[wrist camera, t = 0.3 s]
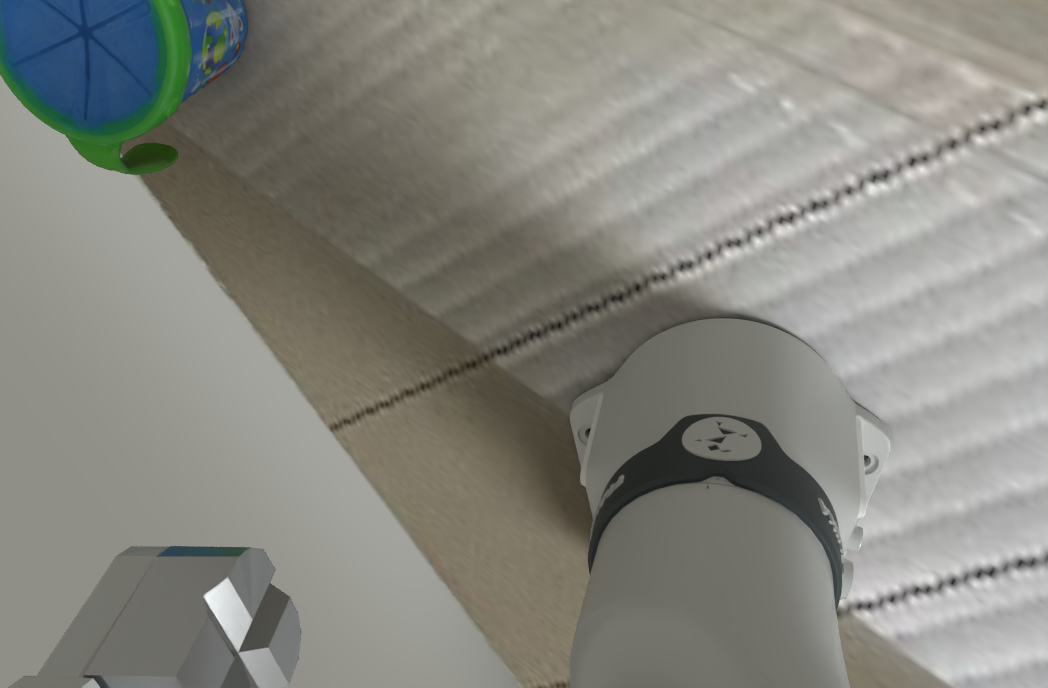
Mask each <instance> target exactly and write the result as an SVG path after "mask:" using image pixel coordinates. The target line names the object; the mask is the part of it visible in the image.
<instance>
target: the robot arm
mask: <svg viewBox="0 0 1048 688" xmlns="http://www.w3.org/2000/svg"><path fill="white" fill-rule="evenodd" d="M570 423H571V428H572V432H573V436H574V440H575V445H576V449H577V453H578V457H579V462H580V466H581V474H580V483H581V484H582V485H583V486H585V487H586V491H587V495H588V500H589V504H590V508H591V512H592V517H593V522H592V526H591V530H590V538H589V541H590V546H589V552H588V564H589V573H590V578H589V581H588V585H587V589H586V593H585V597H584V600H583V604H582V608H581V612H580V616H579V620H578V624H577V628H576V632H575V636H574V639H573V643H572V647H571V651H570V658H569V677H570V686H571V688H850V685H849V681H848V677H847V672H846V667H845V663H844V658H843V653H842V647H841V642H840V636H839V631H838V623H837V616H836V609H837V607H838V604H839V600H840V599H841V600H842V599H846V598H847V596H848V594H849V592H850V589H851V585H852V580H853V563H852V562H850V560H848V559H844V557H845V555H846V553H847V550H849V551H855V552H858V551H859V549H860V547H861V544H862V539H863V529H862V528H861V527H858V525H859V523H860V520H861V518H862V517H863V516H864V515H865V513H866V507H867V504H868V502H869V499H870V497H871V495H872V492H873V490H874V488H875V486H876V483H877V481H878V479H879V476H880V474H881V472H882V469H883V467H884V465H885V462H886V460H887V458H888V455H889V453H890V450H891V434H890V431H889V429H888V428H887V427H886V425H885V424H884V423H882V422H881V421H880V420H879V419H878V418H876V417H875V416H874V415H872V414H871V413H869V412H868V411H866V410H865V409H863V408H862V407H860V406H859V405H857V404H856V403H854V401H853V400H852V399H851V398H850V397H849V395H848V394H847V393H846V391H845V390H844V388H843V386H842V385H841V383H840V381H839V380H838V378H837V377H836V375H835V373H834V372H833V371H832V369H831V368H830V367H829V366H828V364H827V363H826V362H825V361H824V360H823V359H822V358H821V357H820V356H819V355H818V354H817V353H816V352H815V351H814V350H812V349H811V348H810V347H808V346H807V345H806V344H804V343H803V342H801V341H800V340H798V339H797V338H795V337H793V336H791V335H789V334H788V333H785V332H783V331H781V330H779V329H776V328H774V327H771V326H768V325H765V324H761V323H757V322H753V321H747V320H741V319H728V318H717V319H704V320H698V321H693V322H688V323H685V324H681V325H678V326H675V327H673V328H670V329H668V330H666V331H663V332H661V333H659V334H658V335H656V336H654V337H652V338H651V339H649V340H648V341H646V342H645V343H644V344H642V345H641V346H640V347H639V348H638V349H637V350H635V351H634V352H633V353H632V354H631V355H630V356H629V358H628V359H627V360H626V361H625V362H624V364H623V365H622V366H621V367H620V369H619V370H618V371H617V372H616V373H615V374H614V376H613V377H612V378H610V379H609V380H608V381H607V382H605V383H603V384H601V385H598V386H596V387H594V388H592V389H590V390H588V391H587V392H585V393H583V394H582V395H580V396H579V397H577V398H576V399H575V400H574V402H573V403H572V406H571V411H570ZM588 428H591V430H590V432H589V431H588V430H587V429H588ZM864 455H867V456H868V457H869V458H868V459H866V460H864ZM275 570H276V569H275V567H274V566H273V564H272V562H271V561H270V559H269V557H268V556H267V554H266V552H265V551H264V549H260V548H251V547H248V548H247V547H186V546H183V547H182V546H170V547H137V546H136V547H135V546H134V547H133V546H132V547H129V548H128V549H126V550H125V551H124V552H122V553H120V554H119V555H117V556H116V557H115V559H114V560H113V562H112V563H111V565H110V566H109V568H108V569H107V571H106V572H105V574H104V575H103V577H102V578H101V580H100V581H99V583H98V584H97V586H96V587H95V589H94V590H93V592H92V593H91V595H90V596H89V598H88V600H87V601H86V602H85V604H84V605H83V607H82V608H81V610H80V611H79V613H78V614H77V616H76V617H75V619H74V620H73V622H72V623H71V625H70V626H69V628H68V629H67V631H66V632H65V634H64V635H63V637H62V638H61V640H60V642H59V643H58V644H57V646H56V647H55V649H54V651H53V652H52V653H51V655H50V657H49V658H48V660H47V661H46V662H45V664H44V666H43V667H42V668H41V670H40V672H39V673H38V675H37V676H23V677H22V678H21V679H19V680H18V681H17V682H15V683H14V684H12V685H11V686H10V687H8V688H286V687H287V686H288V685H289V683H290V681H291V678H292V675H293V673H294V670H295V668H296V665H297V662H298V659H299V650H300V641H301V628H300V621H299V616H298V612H297V610H296V608H295V606H294V604H293V602H292V600H291V598H290V597H289V596H288V595H286V594H285V593H284V592H282V591H281V590H279V589H278V588H276V587H275V586H273V585H272V584H271V583H270V582H271V579H272V577H273V575H274V573H275Z"/></svg>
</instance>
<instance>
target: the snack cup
mask: <svg viewBox="0 0 1048 688" xmlns="http://www.w3.org/2000/svg"><path fill="white" fill-rule="evenodd" d="M247 28H248V23H247V16H246V9H245V5H244V3H243V0H0V75H1V76H2V78H3V79H4V81H5V83H6V84H7V85H8V87H9V88H10V89H11V91H12V92H13V93H14V95H15V96H16V97H17V98H18V100H20V101H21V102H22V104H23V105H24V106H25V107H26V108H27V109H28V110H29V111H30V112H31V113H32V114H34V115H35V116H36V117H37V118H39V119H40V120H41V121H43V122H44V123H45V124H47V125H48V126H50V127H51V128H53V129H55V130H57V131H59V132H60V133H62V134H65V135H66V137H67V138H68V139H69V141H70V142H71V144H72V145H73V146H74V148H75V149H76V150H77V151H78V152H79V154H80V155H81V156H82V157H84V158H85V159H86V160H87V161H89V162H91V163H92V164H94V165H96V166H98V167H102V168H104V169H108V170H115V171H118V172H121V173H125V174H133V175H138V174H146V173H152V172H155V171H159V170H161V169H164V168H166V167H168V166H170V165H171V164H173V163H174V162H175V161H176V160H177V158H178V152H177V150H176V149H174V148H173V147H171V146H169V145H164V144H158V143H144V144H139V145H137V146H135V147H133V148H132V149H131V150H129V151H128V152H127V153H126V154H125V155H124V156H123V157H122V158H120V150H121V146H122V144H123V143H124V142H125V141H127V140H130V139H133V138H136V137H139V136H141V135H143V134H145V133H147V132H149V131H150V130H152V129H154V128H155V127H157V126H158V125H159V124H161V123H162V122H163V121H165V120H166V119H167V118H168V116H171V115H172V114H173V113H174V112H175V111H176V110H177V108H178V106H179V104H180V103H182V102H183V101H185V100H186V99H188V98H189V97H190V96H191V95H193V94H195V93H196V92H198V91H199V90H200V89H201V88H203V87H205V86H206V85H208V84H209V83H211V82H212V81H213V80H215V79H216V78H217V77H218V76H220V75H221V74H222V73H224V72H225V71H227V70H228V69H229V68H230V66H231V65H232V64H233V63H234V62H235V61H236V60H237V59H238V58H239V57H240V55H241V52H242V51H243V49H244V39H245V36H246V34H247Z"/></svg>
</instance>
